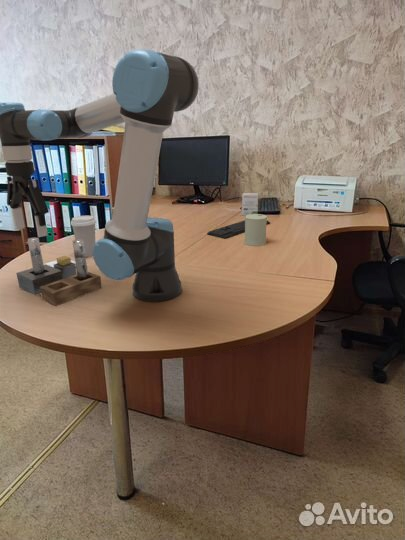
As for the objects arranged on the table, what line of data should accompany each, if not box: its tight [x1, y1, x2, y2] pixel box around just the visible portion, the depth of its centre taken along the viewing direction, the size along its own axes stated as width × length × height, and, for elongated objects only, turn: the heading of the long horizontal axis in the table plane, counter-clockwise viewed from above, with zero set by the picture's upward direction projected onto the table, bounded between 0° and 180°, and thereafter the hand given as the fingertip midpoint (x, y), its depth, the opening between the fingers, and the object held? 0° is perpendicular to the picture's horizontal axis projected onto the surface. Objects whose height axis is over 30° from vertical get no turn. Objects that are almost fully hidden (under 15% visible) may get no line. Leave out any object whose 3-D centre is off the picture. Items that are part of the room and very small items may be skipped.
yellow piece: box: [56, 255, 71, 267], centre depth 131 cm, size 3×3×6 cm
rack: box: [40, 271, 102, 307], centre depth 119 cm, size 16×7×4 cm, turn 140°
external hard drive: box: [43, 259, 76, 267], centre depth 142 cm, size 2×8×12 cm
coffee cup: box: [70, 215, 97, 258], centre depth 152 cm, size 10×10×15 cm
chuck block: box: [16, 262, 77, 296], centre depth 127 cm, size 10×16×5 cm, turn 141°
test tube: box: [72, 239, 89, 281], centre depth 120 cm, size 3×3×16 cm
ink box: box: [241, 192, 259, 217], centre depth 212 cm, size 8×5×12 cm, turn 82°
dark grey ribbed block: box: [206, 220, 271, 240], centre depth 187 cm, size 35×11×2 cm, turn 137°
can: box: [244, 213, 268, 247], centre depth 164 cm, size 9×9×12 cm
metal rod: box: [27, 236, 45, 276], centre depth 123 cm, size 3×3×16 cm
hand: (31, 232), depth 119 cm, fingers open, 13 cm apart
